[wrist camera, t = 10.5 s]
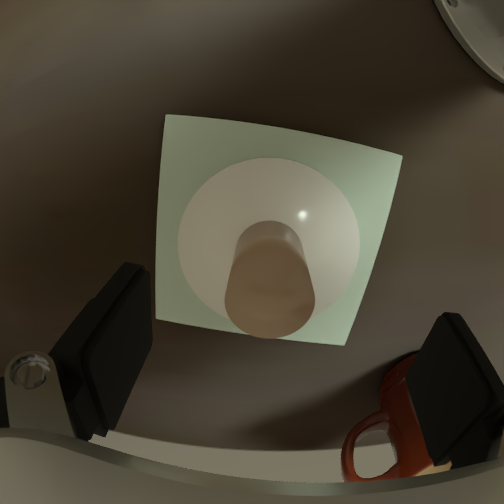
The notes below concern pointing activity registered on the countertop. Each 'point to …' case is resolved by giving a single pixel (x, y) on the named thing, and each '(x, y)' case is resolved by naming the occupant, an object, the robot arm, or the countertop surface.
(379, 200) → the mat
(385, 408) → the mug
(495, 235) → the countertop surface
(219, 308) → the lid
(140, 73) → the countertop surface
